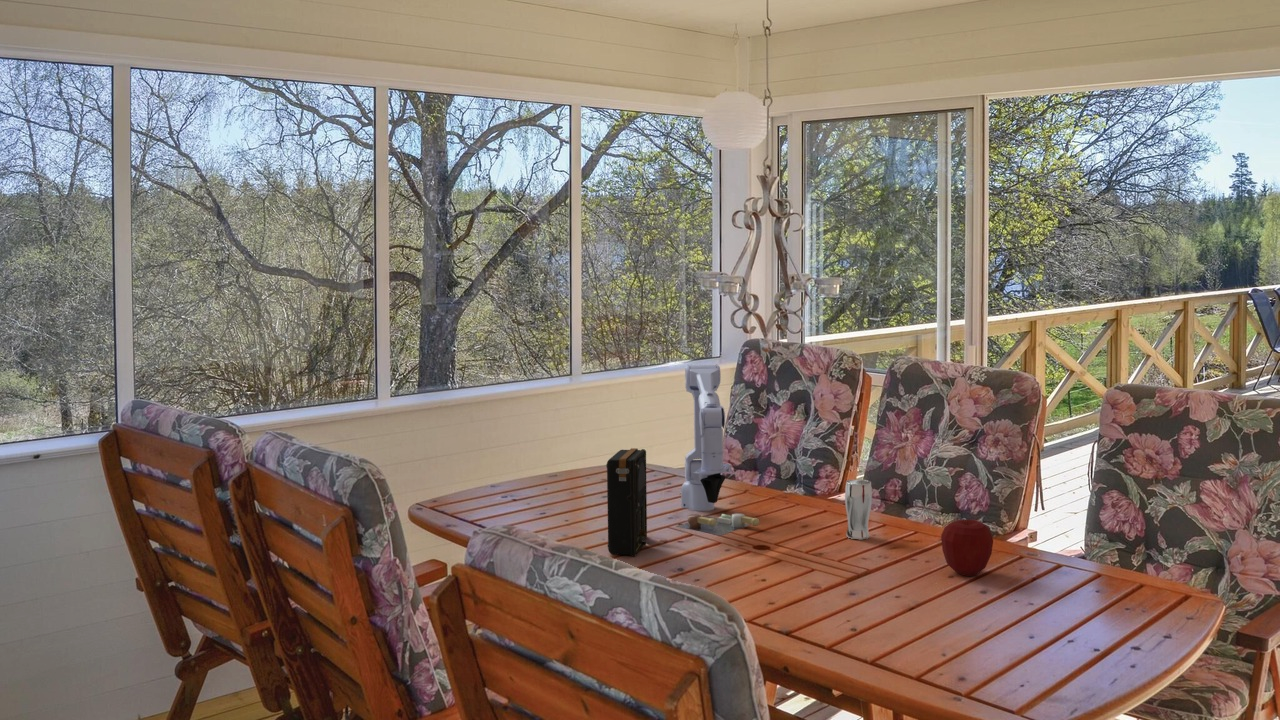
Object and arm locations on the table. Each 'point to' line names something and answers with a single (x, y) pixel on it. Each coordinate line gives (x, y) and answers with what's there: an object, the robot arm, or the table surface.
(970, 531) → the apple
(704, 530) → the levelling plate
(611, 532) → the voltmeter
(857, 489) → the beer glass
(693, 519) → the beige knobbed bar
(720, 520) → the bubble vial
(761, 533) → the table surface
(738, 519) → the footscrew grey
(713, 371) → the robot arm
